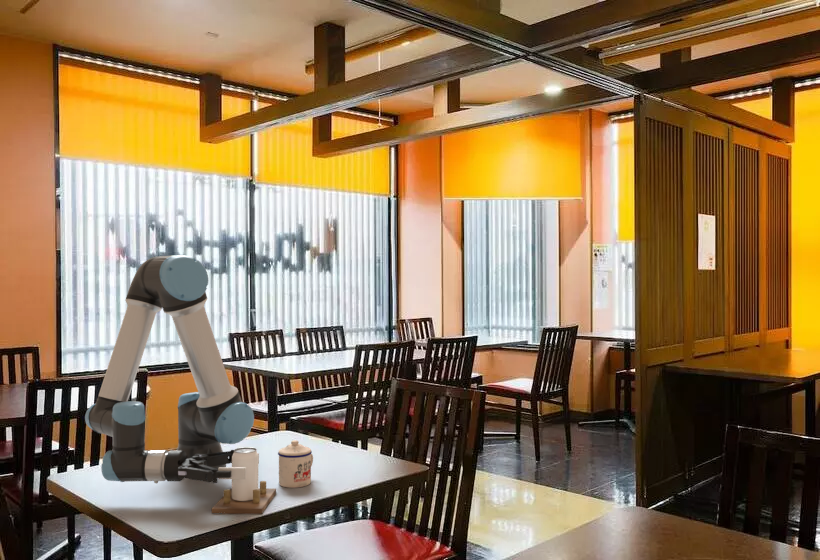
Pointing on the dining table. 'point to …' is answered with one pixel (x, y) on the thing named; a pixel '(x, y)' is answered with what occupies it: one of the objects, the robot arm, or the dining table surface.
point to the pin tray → (249, 507)
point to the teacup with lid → (295, 465)
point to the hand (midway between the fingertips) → (252, 465)
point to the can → (245, 487)
